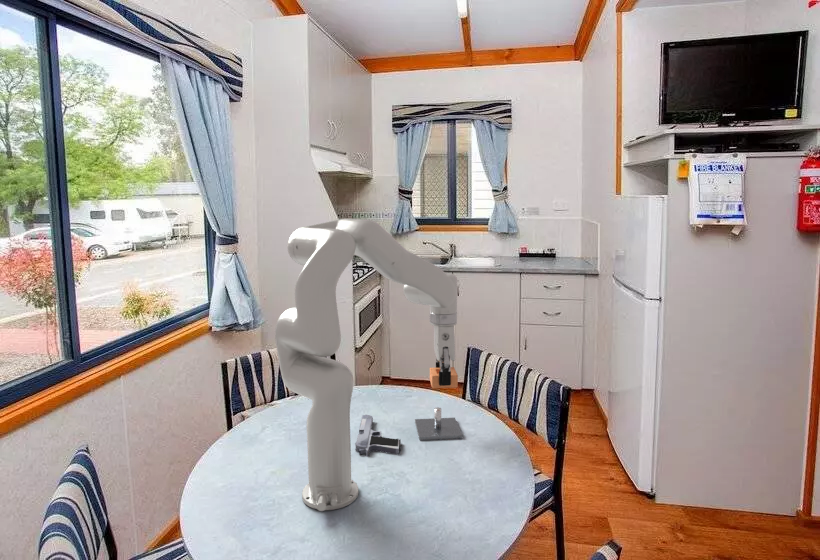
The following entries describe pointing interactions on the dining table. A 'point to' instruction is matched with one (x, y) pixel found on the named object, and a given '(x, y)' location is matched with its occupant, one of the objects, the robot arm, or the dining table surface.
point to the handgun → (374, 439)
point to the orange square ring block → (435, 378)
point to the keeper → (437, 427)
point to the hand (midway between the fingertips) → (443, 379)
